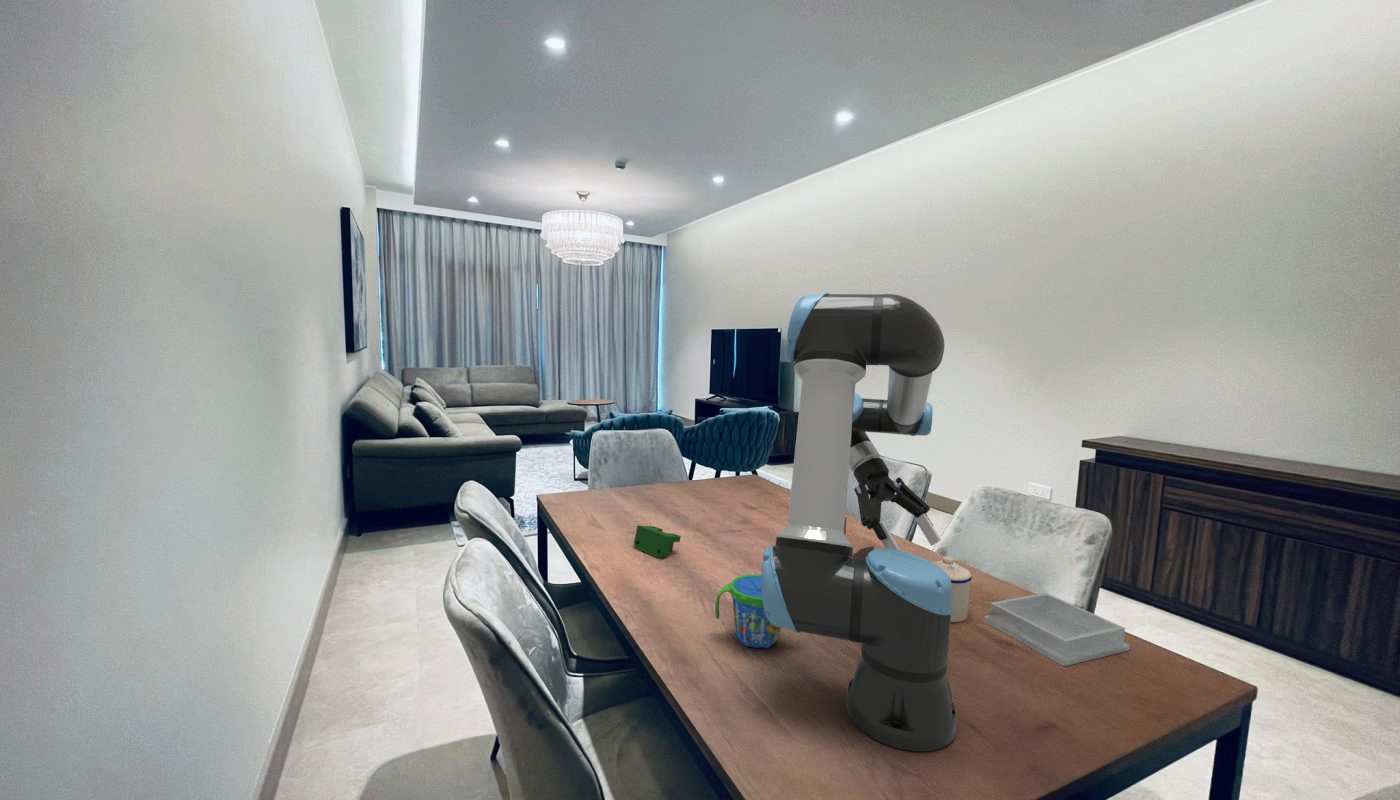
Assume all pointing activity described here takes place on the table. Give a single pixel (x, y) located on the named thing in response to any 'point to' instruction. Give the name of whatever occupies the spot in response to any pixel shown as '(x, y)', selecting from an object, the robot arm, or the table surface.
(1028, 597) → the rectangular tray
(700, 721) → the table surface
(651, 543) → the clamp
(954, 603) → the teacup with lid
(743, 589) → the snack cup
